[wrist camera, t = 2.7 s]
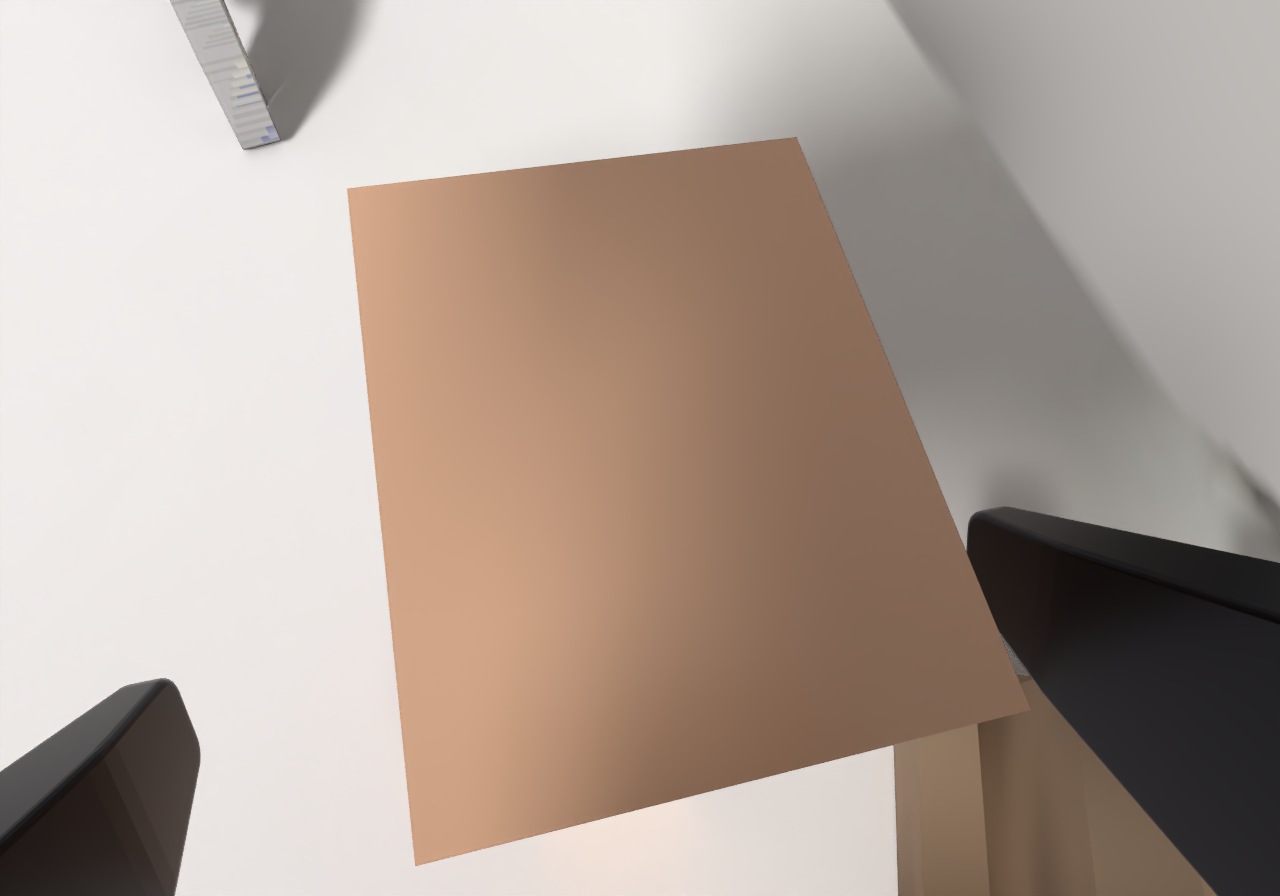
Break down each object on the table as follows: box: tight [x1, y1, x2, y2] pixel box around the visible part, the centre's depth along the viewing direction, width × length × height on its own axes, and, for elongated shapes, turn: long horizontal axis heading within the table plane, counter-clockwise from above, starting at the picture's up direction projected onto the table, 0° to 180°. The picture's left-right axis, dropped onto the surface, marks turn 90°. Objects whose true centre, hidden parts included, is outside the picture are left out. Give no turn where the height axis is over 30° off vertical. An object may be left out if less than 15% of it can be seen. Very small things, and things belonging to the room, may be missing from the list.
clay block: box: [347, 137, 1031, 866], centre depth 10 cm, size 4×3×13 cm
